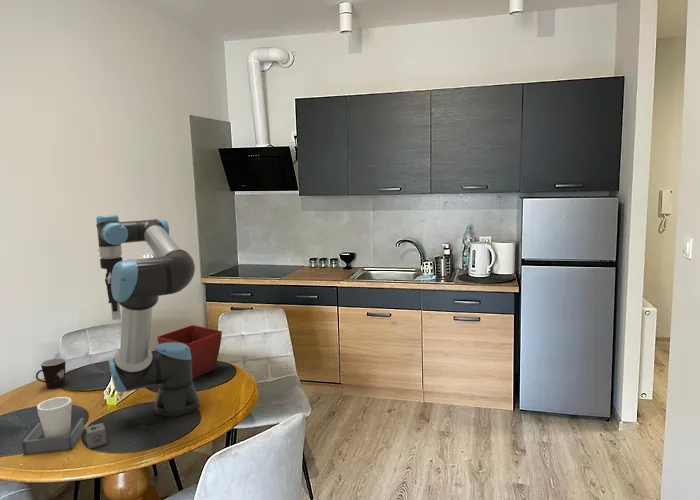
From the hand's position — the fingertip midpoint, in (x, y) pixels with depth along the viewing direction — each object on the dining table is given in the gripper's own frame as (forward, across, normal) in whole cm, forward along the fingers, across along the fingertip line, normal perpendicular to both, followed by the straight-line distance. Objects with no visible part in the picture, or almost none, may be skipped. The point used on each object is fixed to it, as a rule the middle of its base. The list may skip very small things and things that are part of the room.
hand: (116, 319), depth 199 cm
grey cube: (+30, +38, 0) cm, 49 cm away
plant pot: (+30, -16, +24) cm, 41 cm away
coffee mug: (+30, -14, -30) cm, 44 cm away
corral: (+29, +34, -13) cm, 47 cm away
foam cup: (+30, +35, -12) cm, 48 cm away
